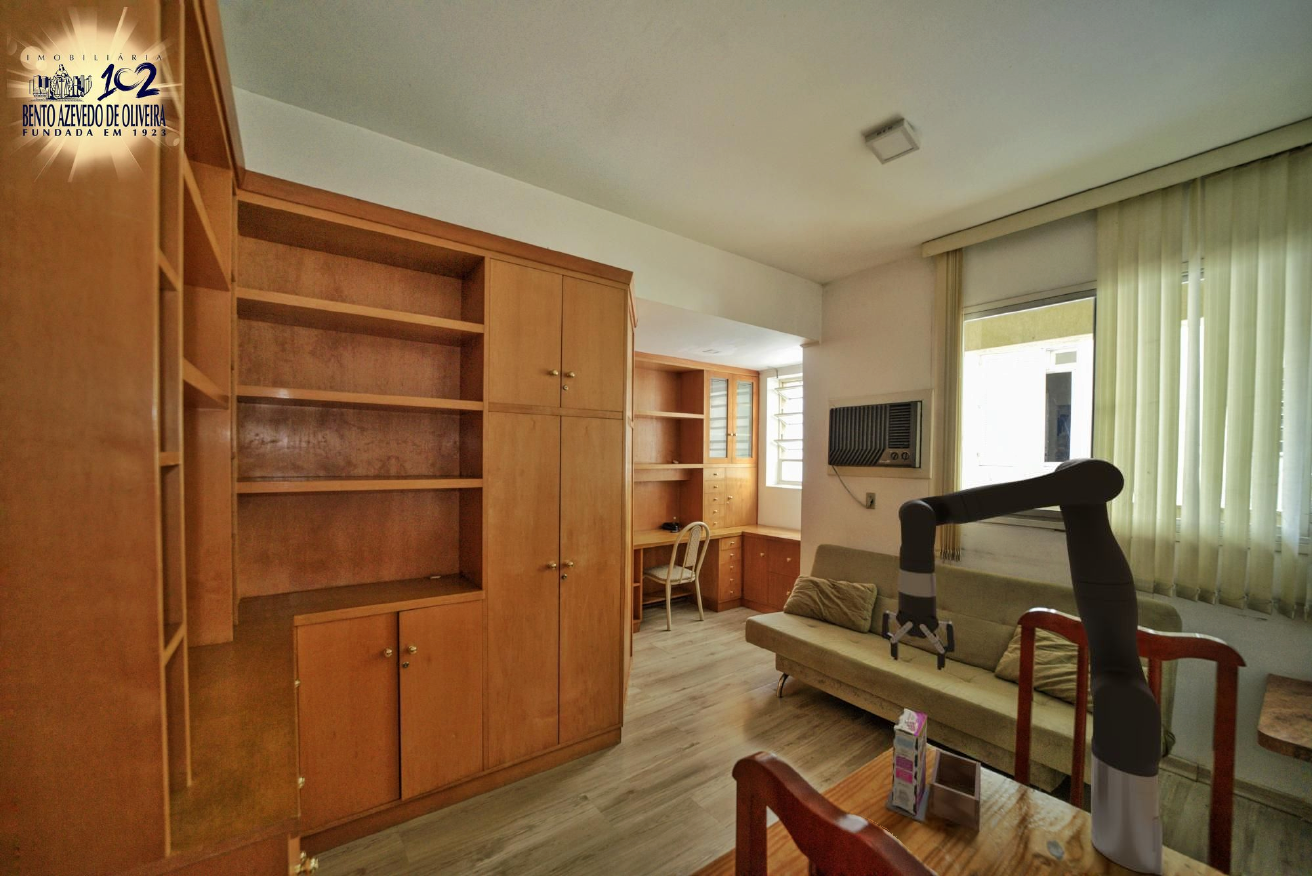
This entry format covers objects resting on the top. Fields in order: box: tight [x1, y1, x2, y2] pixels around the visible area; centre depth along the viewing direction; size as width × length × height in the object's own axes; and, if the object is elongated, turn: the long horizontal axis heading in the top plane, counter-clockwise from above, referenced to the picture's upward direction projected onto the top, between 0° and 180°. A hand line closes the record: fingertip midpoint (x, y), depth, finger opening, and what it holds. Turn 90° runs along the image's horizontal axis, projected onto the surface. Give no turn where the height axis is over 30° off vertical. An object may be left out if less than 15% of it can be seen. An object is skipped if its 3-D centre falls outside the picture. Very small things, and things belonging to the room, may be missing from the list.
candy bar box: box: [891, 707, 928, 815], centre depth 105 cm, size 11×5×16 cm, turn 142°
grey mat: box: [885, 786, 930, 824], centre depth 105 cm, size 7×12×1 cm, turn 145°
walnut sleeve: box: [929, 748, 982, 832], centre depth 105 cm, size 9×15×6 cm, turn 145°
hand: (917, 663), depth 107 cm, fingers open, 8 cm apart
